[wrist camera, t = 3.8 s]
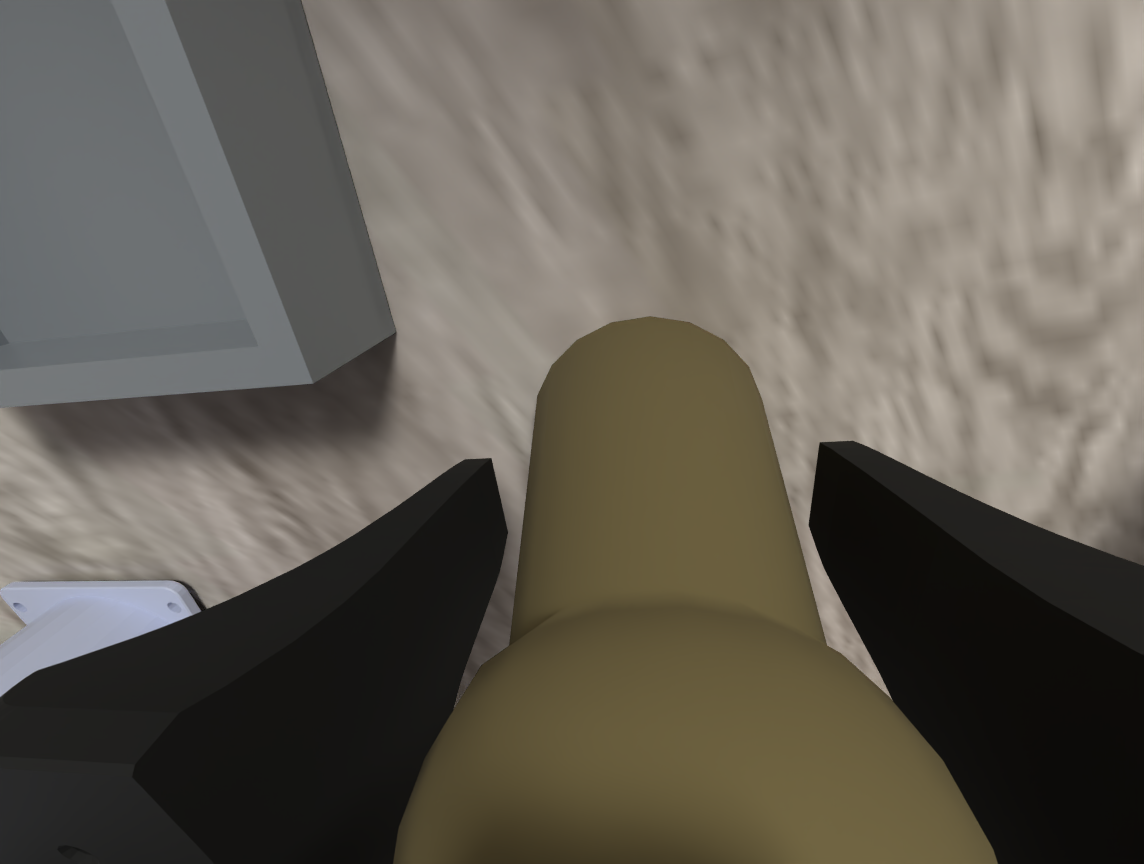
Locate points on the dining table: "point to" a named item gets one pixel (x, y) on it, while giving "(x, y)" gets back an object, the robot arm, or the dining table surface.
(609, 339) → the cork
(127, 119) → the tote
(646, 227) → the dining table surface
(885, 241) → the dining table surface
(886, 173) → the dining table surface
